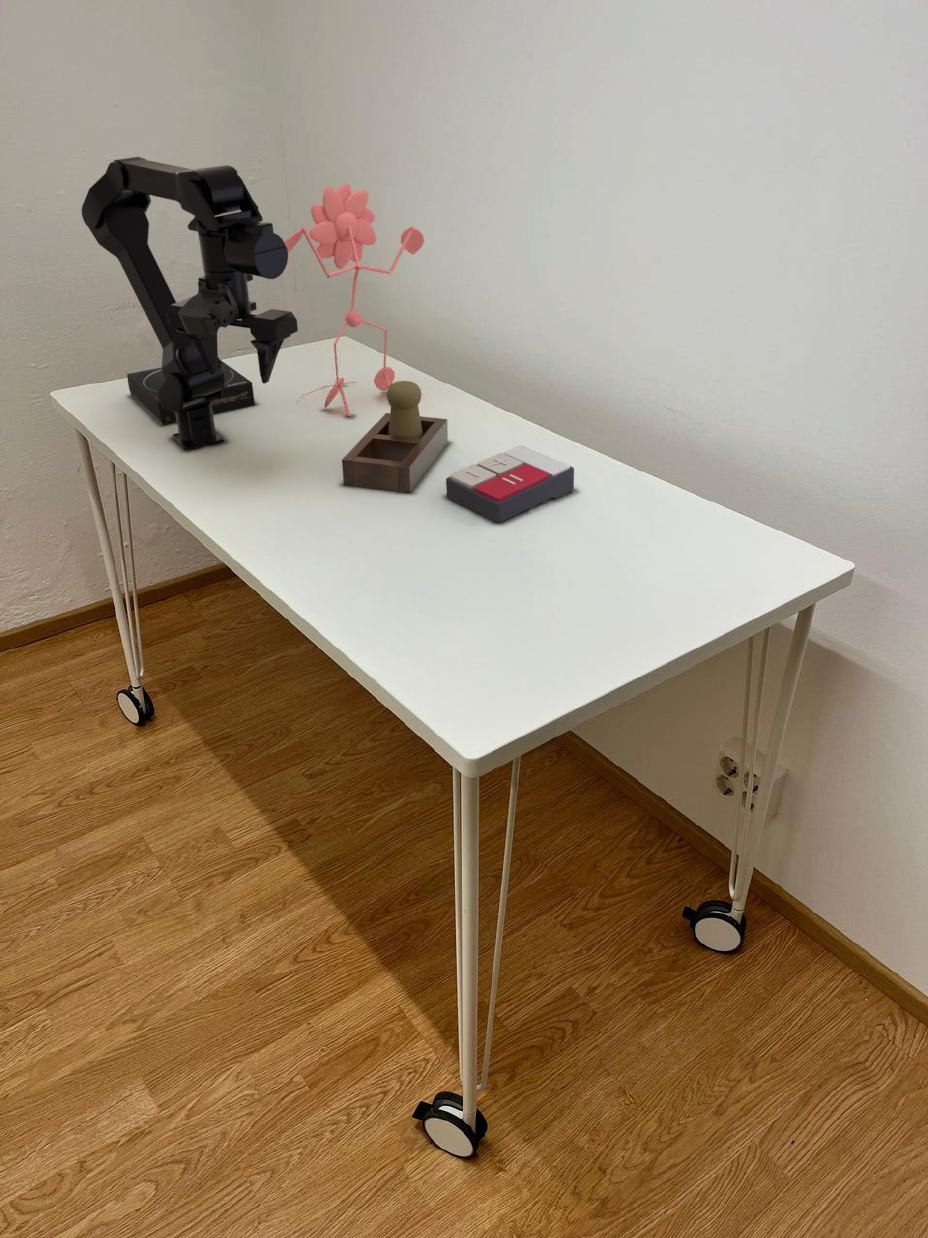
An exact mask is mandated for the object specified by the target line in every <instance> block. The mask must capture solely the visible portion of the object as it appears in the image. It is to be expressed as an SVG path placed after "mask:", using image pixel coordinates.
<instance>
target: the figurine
mask: <svg viewBox="0 0 928 1238" xmlns="http://www.w3.org/2000/svg"><path fill="white" fill-rule="evenodd" d="M368 202H369V193H368V191H367V190H365V189H359V190H356V191H354V192H352V189H351V184H349V183H347V182H344V183H343V184H341V185H340V186H339V187H338V188H337V189H335V188H333V187H332V186H331V185H328V186H326V187H325V189H324V190H323V195H322V204H317V203H313V204H312V206H310V213H311V218H312V220H313V222H314V223H315V225H313V226H312V227H311V228H310V229H309V233H308V231H307V229H308V228H307V227H306V226H304V225H303V226H301V227H300V228H299V229H297V230H295V232H293V233H292V234H291V235H290V236H289V237H288V238H287V239H286V240H285V241H284V243H285V245H286V247H287V249H288V253H290V252H291V250H292V249H294V248H295V246H296V245H298V243H299V241H300V240H301V238H302V236H305V238H306V240H307V242H308V245H309V247H310V248H311V250H312V252H313V254H314V256H315V257H316V259H317V261H318V263H319V265H320V267H321V269H322V271H323V273H324V275H325V276H326V278H327V279H330V278H333V277H337V276H339V275H342V274H343V273H344V274H345V273H347V272H350V271H352V270H355V271H354V275H353V279H352V281H353V282H352V290H351V293H352V294H351V301H350V310H349V311H348V312H347V313H346V314H345V317H344V320H345V322H344V324H343V326H342V328H341V330H340V332H339V333H338V335H337V337H336V339H335V341H334V343H333V353H334V364H335V376H336V377H335V378H336V381H335V384H332V385H323V386H322V387H319V388H318V389H315V390H312V391H310V392H308V393H306V394H305V393H303V394H302V396H301V399H303V398H304V397H306V396H308V395H310V394H311V393H314V392H316V391H319V390H323V389H326V388H329V387H332V388H331V389H330V391H329V393H328V394H327V395H326V399H325V401H324V406H323V407H324V409H327V408H328V407H329V405H330V404H331V403H332V401H333V400H334V399H335V398H336V396H337V395H338V394H339V392H340V395H341V399H342V402H343V405H344V409H345V412H346V416H347V417H350V416H351V415H352V414H351V412H350V408H349V405H348V401H347V398H346V395H345V391H344V387H343V385H346V384H348V382H345V378H344V377H343V376H342V377H340V378H339V367H338V366H339V365H338V353H337V344H338V342H339V340H340V338H341V336H342V334H343V332H344V331H345V329H346V327H347V325H348V326H349V327H350V328H357V327H359V326H361V324H362V323H364V324H366V325H369V326H372V327H374V328H377V329H379V330H382V331H384V347H383V367H382V368H381V369H379V370H378V371H377V372H376V374H375V376H374V379H373V383H374V385H375V387H376V389H378V390H380V391H381V392H387V390H388V388H389V386H390V385H391V384H393V383H394V381H395V378H396V375H395V374H396V373H395V371H394V370H393V368H392V367H391V366H387V350H388V349H387V348H388V347H387V346H388V329H387V328H385V327H382V326H380V325H377V324H375V323H372V322H370V321H367V320H364V319H363V317H362V314H361V313H360V312H359V311H357V310H355V309H354V306H355V298H356V292H357V291H356V290H357V283H358V282H357V281H358V274H359V271H361V270H362V269H363V270H368V271H373V272H377V273H382V274H388V275H392V272H394V270H395V268H396V266H397V264H398V262H399V260H400V259H401V256H402V254H403V252H404V250H405V251H406V252H408V253H409V254H411V255H415V254H416V253H417V252H419V250H421V249H422V248H423V245H424V242H425V238H424V234H423V233H422V232H421V230H420V229H419V228H416V227H415V226H414V225H410V226H409V227H408V228H406V229H405V230H404V231H403V232H402V233H401V235H400V244H401V247H400V248H399V250H398V252H397V254H396V257H395V258H394V260H393V261H392V264H391V266H390V268H389V269H384V268H379V267H374V266H369V265H368V266H367V265H363V264H361V263H360V262H361V260H362V257H363V249H364V248H363V247H364V245H365V246H373V245H374V244H375V243H376V242H377V235H376V232H375V229H374V227H373V226H372V225H371V224H373V222H374V221H375V219H376V216H375V214H374V212H373V211H372V210H371V209H370V208H369V207H367V205H368ZM312 240H313V241H314V242H316V243H318V244H319V245H318V246H317V248H316V246H315V245H314V243H313V241H312ZM332 257H333V263H334V265H335V267H336V268H337V269H339V270H336V271H334V272H331V273H330V272H329V270H328V269H327V266H326V265H325V263H324V261H323V260H324V259H328V258H332ZM350 260H351V262H353V263H355V264H354V265H351V266H348V267H345V266H347V265H348V263H349V261H350ZM356 383H357V381H351V382H350V381H349V384H356ZM421 396H423V397H424V398H425V397H426V396H425V395H424V394H423V393H422V392H421ZM298 403H299V401H297V402H296V404H298Z"/></svg>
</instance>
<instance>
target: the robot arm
mask: <svg viewBox="0 0 928 1238" xmlns="http://www.w3.org/2000/svg"><path fill="white" fill-rule="evenodd" d="M150 196H152V197H156V198H161V199H165V200H169V201H174V202H176V203H178V204H179V206H180V208H181V209H182V211H184V212H186V213H188V214H190V215H192V216H194V217H193V219H191V220H190V221H189V223H188V224H187V229H188V230H189V231H192V232H197V236H198V243H199V249H200V257H201V264H202V270H203V276H200V277H198V279H197V280H198V282H197V287H198V289H197V291H198V292H197V293H196V294H195V295H193V296H191V297H188V298H186V299H183V300H180V301H177V300H176V298H175V296H174V294H173V292H172V290H171V288H170V286H169V283H168V282H167V280H166V278H165V276H164V274H163V272H162V269H161V268H160V266H159V264H158V262H157V260H156V258H155V256H154V254H153V252H152V250H151V248H150V244H149V236H150V235H149V232H150V221H149V218H148V216H147V214H146V213H147V211H148V210H149V207H150V205H151V202H152V198H151V197H150ZM81 217H82V220H83V222H84V225H86V227H87V228H88V230H89V231H90V233H91V234H92V237H94V239H95V241H96V242H97V244H98V245H99V246H101V247H102V248H103V249H104V250H106V251H107V252H109V253H110V254H111V255H112V256H114V257H115V258H116V259H117V261H118V262H119V264H120V266H121V268H122V270H123V272H124V274H125V276H126V278H127V280H128V282H129V283H130V286H131V288H132V290H133V292H134V294H135V296H136V298H137V300H138V302H139V304H140V307H141V308H142V310H143V312H144V314H145V316H146V318H147V320H148V322H149V324H150V326H151V327H152V330H153V332H154V334H155V336H156V338H157V340H158V342H159V344H160V346H161V347H162V355H161V356H162V357H161V358H162V359H161V367H162V372H163V374H164V377H165V379H166V380H165V381H164V383H163V385H162V386H161V388H160V390H159V391H158V393H157V396H158V399H159V402H160V404H161V407H162V408H165V409H168V410H170V411H173V412H175V415H176V420H177V422H176V425H177V430H178V431H177V432H176V433H172V439H174V440H175V442H177V444H178V445H179V446H180V447H181V448H182V449H183V450H184V451H188V450H193V449H198V448H203V447H207V446H212V445H216V444H220V443H224V442H225V438H224V437H223V436H222V434H220V433H219V432H218V431H217V430H216V423H215V418H214V414H213V411H212V404H211V402H212V401H215V400H218V399H222V398H223V392H224V383H225V372H224V369H223V367H222V364H223V363H222V362H221V361H222V359H220V357H219V353H218V351H219V349H218V348H219V347H218V332H219V329H220V328H227V327H229V326H231V327H238V328H245V329H249V332H250V334H251V336H252V337H253V338H254V339H251V340H250V344H252V346H253V347H254V348H255V349H256V353H257V360H258V361H257V362H258V368H259V369H258V370H259V376H260V379H261V383H262V384H267V383H269V381H270V379H271V376H272V373H273V370H274V367H275V363H276V362H277V357H278V355H279V352H280V349H281V348H282V345H283V343H284V341H285V340H286V339H288V338H290V337H291V336H292V335H293V334H295V333H297V332H298V331H299V328H298V327H299V326H298V320H297V316H296V315H295V314H294V313H293V311H291V310H290V311H289V310H282V309H277V308H276V309H275V308H270V309H268V310H266V311H263V312H261V313H259V314H252V312H253V311H257V309H258V308H257V301H251V299H250V297H251V296H250V291H249V283H248V282H251V281H253V280H254V277H258V278H263V279H267V280H275V279H277V278H279V277H280V276H281V275H282V274H283V273H284V271H285V270H286V268H287V265H288V261H289V252H288V249H287V247H286V245H285V243H284V242H285V241H284V239H283V238H282V237H281V236H280V235H279V234H277V233H275V231H274V225H273V223H272V222H269V221H264V222H263V216H262V214H261V212H260V210H259V206H258V205H257V204H256V202H255V200H254V199H253V197H252V195H251V193H250V191H249V190H248V188H247V186H246V184H245V182H244V181H243V179H242V178H241V176H240V174H239V173H238V170H237V169H236V168H235V167H233V166H232V165H227V164H226V165H225V164H224V165H217V166H208V167H200V168H193V169H192V168H187V167H182V166H177V165H172V164H168V163H167V164H166V163H163V162H158V161H152V160H148V159H146V158H144V157H141V156H133V157H126V158H118V159H114V160H113V161H111V162H110V163H109V164H108V166H107V168H106V170H105V173H104V174H103V175H102V176H101V177H100V178H99V179H98V180H96V181H95V183H93V184H92V185H91V187H89V188H88V190H87V194H86V195H85V198H84V201H83V203H82V206H81Z"/></svg>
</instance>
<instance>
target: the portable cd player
mask: <svg viewBox="0 0 928 1238" xmlns="http://www.w3.org/2000/svg"><path fill="white" fill-rule="evenodd" d="M221 362H222V363H223V364H222V367H223V369H224V372H225V383H224V392H223V398H222V399H218V400H215V401H212V402H211V404H212V411H213V415H215V414H220V413H224V412H230V411H234V410H239V409H244V408H248V407H252V406H255V405H256V403H255V393H254V387H253V386H254V385H253V382H252V381H251V380H249V379H248V378H247V377H245V376H244V375H242V374H241V373H240V372H238V371H237V370H236V369H234V368H232V367H231V366H230V365H228V364H227V363H225V362H224V361H223V360H221ZM126 376H127V386H128V390H129V393H130V396H131V398H133V399H134V400H135V401H136V402H137V403H138V404H139V405H140V406H141V407H142V408H143V409H144V410H145V411H147V413H148V414H149V415H151V416H152V417H153V419H155V420H156V421H157V422H158V424H160V425H161V426H165V425H170V424H174V423H175V424H176V423H177V420H176V415H175V412H173V411H170V410H168V409H165V408H162V407H161V404H160V402H159V399H158V396H157V393H158V391H159V390H160V388H161V386H162V385H163V383H164V381H165V380H166V379H165V377H164V374H163V372H162V366H161V367H157V368H151V369H146V370H142V371H141V370H140V371H136V372H131V373H126Z"/></svg>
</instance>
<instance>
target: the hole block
mask: <svg viewBox="0 0 928 1238" xmlns="http://www.w3.org/2000/svg"><path fill="white" fill-rule="evenodd" d="M420 420H421V426H422V432H423V437H422V438H421V439H417V438H407V437H398V436H389V435H388V434H389V422H390V412H385V413H384V414H383V415H382V416H381V417H380V419H379V420H378V421H376V423H375V424H374V425H372V427H371V428H370V429H369V430H368V431H367V433H365V434H364V435H363V436H362V438H361V439H359V441H358V442H357V443H356V444H355V445H354V446H353V447H352V448H351V449H350V450H349V451H348V452H347V454H346V455H345V456H344V457H343V458H342V459H341V466H342V478H343V479H342V480H343V485H344V486H349V487H359V488H367V489H375V490H382V491H383V490H384V491H391V492H397V493H399V492H400V493H406V494H411V492H412V491H413V490H414V488H415V487H416V486H417V484H418V483H419V482H420V480H421V479H422V478H423V476H424V475H425V474H426V472H427V471H428V470H429V468H431V466H432V465H433V463H434V462H435V461H436V459H438V457H439V455H440V454H441V453H442V451H443V450H444V448H445V447H446V446H447V444H448V442H449V437H448V435H449V434H448V430H449V429H448V418H441V417H440V418H439V417H432V416H421V415H420Z"/></svg>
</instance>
